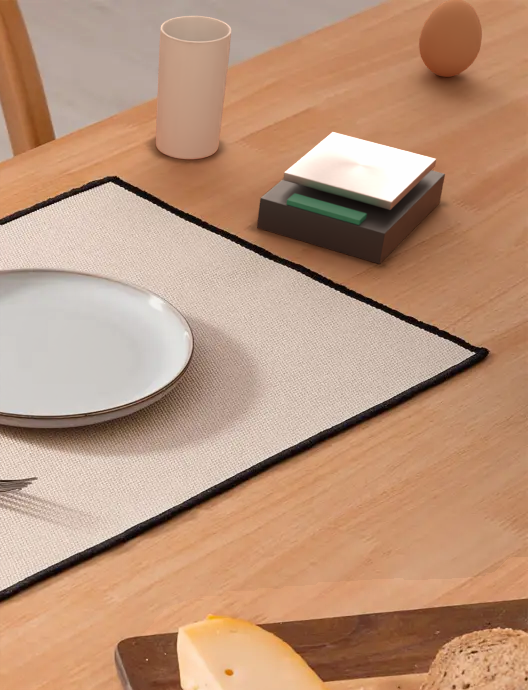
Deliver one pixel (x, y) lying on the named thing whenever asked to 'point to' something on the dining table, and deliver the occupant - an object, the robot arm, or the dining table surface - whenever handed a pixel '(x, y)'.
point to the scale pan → (360, 170)
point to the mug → (191, 85)
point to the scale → (347, 217)
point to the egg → (450, 38)
